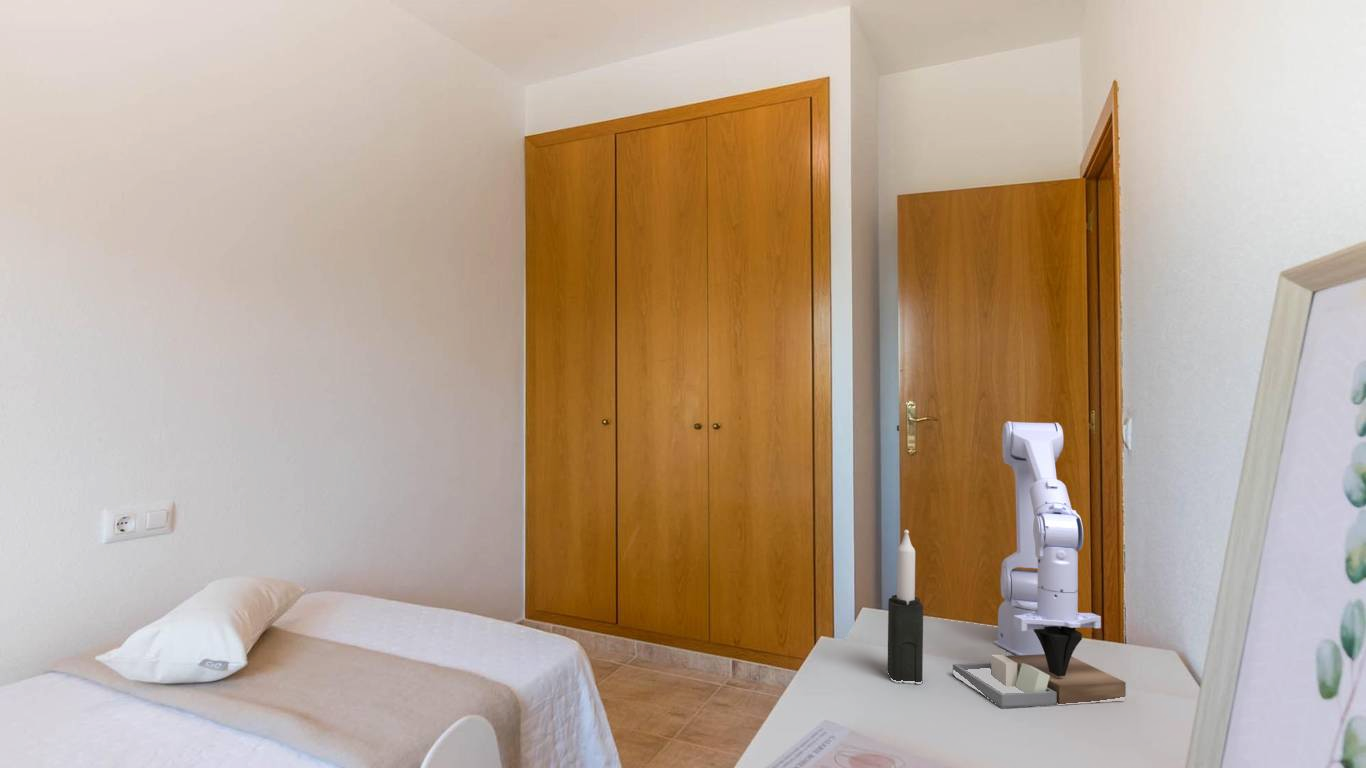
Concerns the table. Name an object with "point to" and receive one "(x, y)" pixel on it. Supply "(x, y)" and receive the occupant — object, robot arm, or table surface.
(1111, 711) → the table surface
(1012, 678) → the cream tile
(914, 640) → the candle
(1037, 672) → the sage tile
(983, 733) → the table surface
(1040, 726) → the table surface
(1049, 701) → the tray
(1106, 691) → the walnut board
